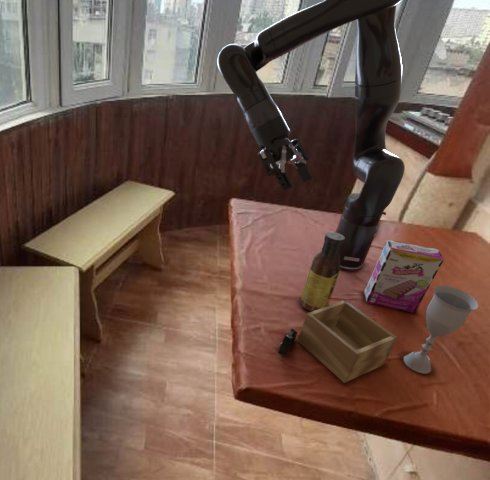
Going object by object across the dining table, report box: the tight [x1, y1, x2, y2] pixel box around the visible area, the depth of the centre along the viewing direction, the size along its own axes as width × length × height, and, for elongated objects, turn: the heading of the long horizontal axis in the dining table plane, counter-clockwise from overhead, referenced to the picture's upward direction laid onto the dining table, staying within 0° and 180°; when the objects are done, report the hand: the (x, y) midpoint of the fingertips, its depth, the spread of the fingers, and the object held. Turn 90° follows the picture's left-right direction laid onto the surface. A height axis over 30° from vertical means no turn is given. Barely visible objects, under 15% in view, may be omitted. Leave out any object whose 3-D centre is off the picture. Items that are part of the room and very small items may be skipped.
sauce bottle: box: [300, 231, 345, 312], centre depth 98 cm, size 7×6×20 cm
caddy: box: [297, 300, 398, 384], centre depth 87 cm, size 12×13×8 cm
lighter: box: [277, 328, 299, 357], centre depth 89 cm, size 8×2×5 cm
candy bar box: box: [363, 239, 445, 314], centre depth 101 cm, size 11×5×16 cm, turn 71°
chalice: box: [403, 284, 479, 375], centre depth 83 cm, size 7×7×18 cm
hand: (298, 184), depth 96 cm, fingers open, 8 cm apart
